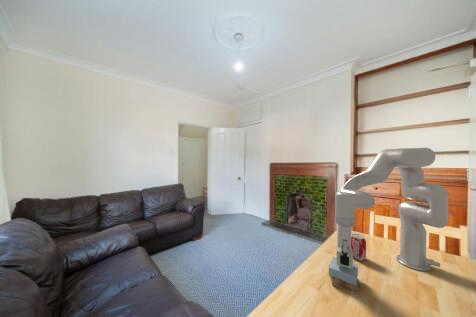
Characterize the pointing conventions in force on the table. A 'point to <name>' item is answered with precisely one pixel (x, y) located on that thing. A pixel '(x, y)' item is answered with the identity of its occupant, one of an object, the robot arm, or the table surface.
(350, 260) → the green cube
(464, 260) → the table surface
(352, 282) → the tower top
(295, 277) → the table surface
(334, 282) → the tower base
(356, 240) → the soda can
